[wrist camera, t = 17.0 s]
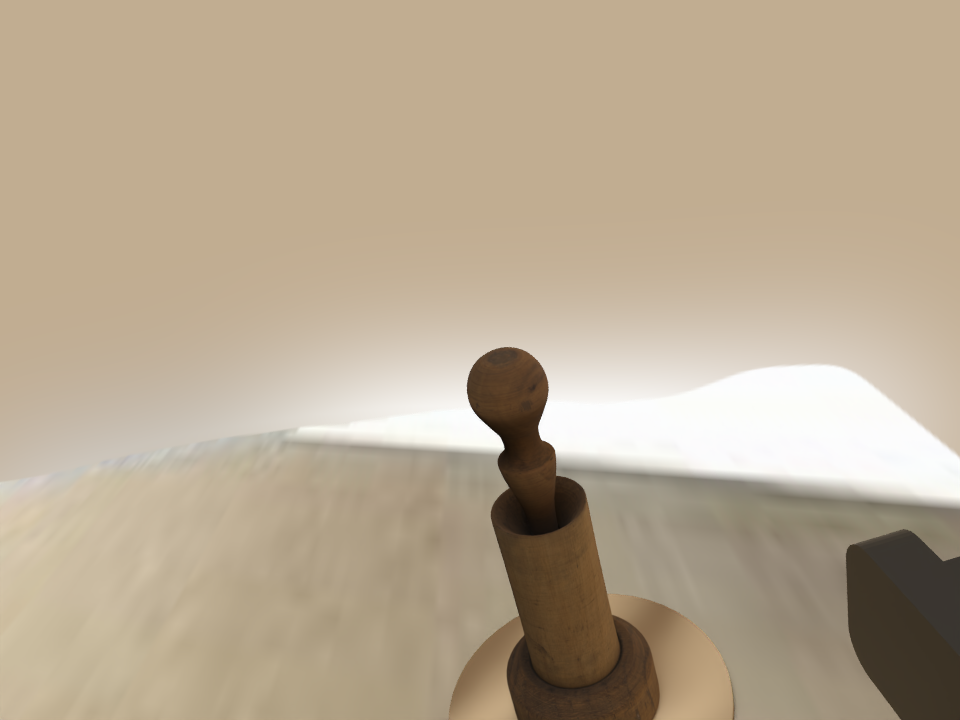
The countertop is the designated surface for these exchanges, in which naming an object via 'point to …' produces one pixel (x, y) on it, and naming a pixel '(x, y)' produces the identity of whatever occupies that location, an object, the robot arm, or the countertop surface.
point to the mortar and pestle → (555, 566)
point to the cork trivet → (676, 654)
